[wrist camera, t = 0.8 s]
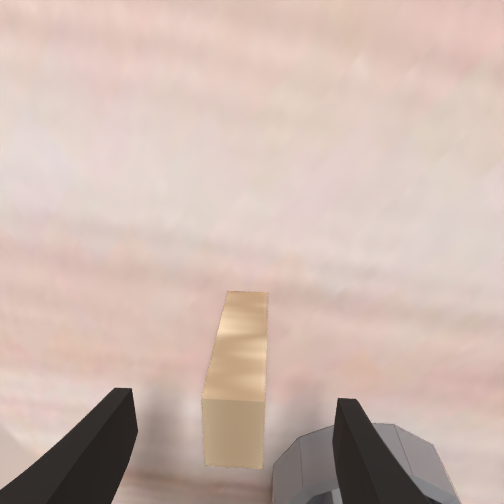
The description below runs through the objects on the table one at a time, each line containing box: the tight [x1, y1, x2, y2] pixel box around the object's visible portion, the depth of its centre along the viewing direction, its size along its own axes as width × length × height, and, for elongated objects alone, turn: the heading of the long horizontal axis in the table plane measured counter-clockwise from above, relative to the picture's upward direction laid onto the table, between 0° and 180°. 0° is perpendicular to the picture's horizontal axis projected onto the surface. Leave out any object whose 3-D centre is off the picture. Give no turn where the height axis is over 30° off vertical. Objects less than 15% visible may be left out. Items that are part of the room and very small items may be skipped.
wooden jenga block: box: [201, 291, 268, 469], centre depth 15 cm, size 2×3×7 cm, turn 179°
